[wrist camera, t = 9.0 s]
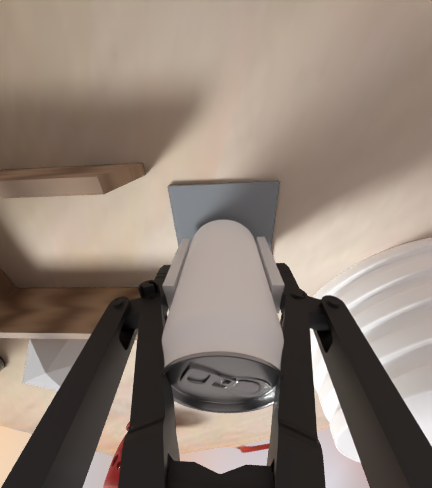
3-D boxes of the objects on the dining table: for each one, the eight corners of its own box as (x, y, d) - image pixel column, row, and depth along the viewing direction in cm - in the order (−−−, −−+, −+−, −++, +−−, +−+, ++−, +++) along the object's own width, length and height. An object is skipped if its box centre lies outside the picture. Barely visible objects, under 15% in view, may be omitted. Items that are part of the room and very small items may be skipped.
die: (88, 293, 26) (-14, 349, 19) (123, 345, 24) (26, 424, 18) (94, 308, 32) (19, 354, 26) (122, 350, 31) (50, 409, 24)
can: (237, 278, 20) (251, 424, 10) (183, 259, 19) (136, 400, 9) (267, 232, 17) (333, 375, 7) (205, 206, 16) (170, 329, 6)
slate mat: (186, 281, 23) (185, 284, 22) (168, 185, 17) (167, 186, 16) (265, 281, 22) (266, 284, 22) (278, 180, 16) (279, 182, 16)
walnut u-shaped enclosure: (14, 293, 25) (-46, 337, 20) (-90, 174, 17) (-242, 191, 12) (173, 292, 24) (157, 340, 18) (142, 162, 16) (97, 176, 10)
